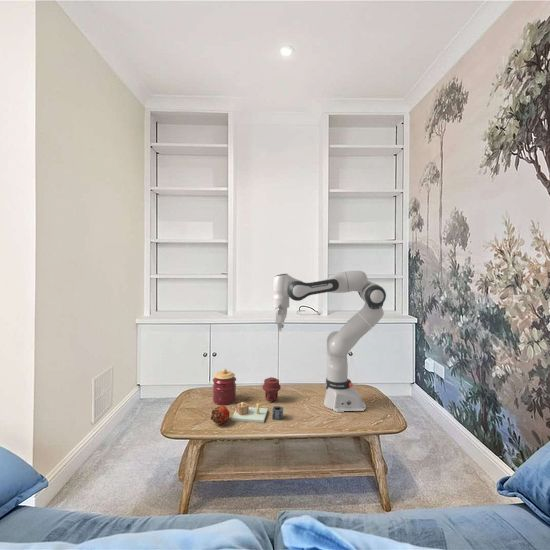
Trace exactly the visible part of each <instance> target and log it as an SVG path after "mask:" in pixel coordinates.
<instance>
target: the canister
mask: <svg viewBox="0 0 550 550" xmlns="http://www.w3.org/2000/svg"><path fill="white" fill-rule="evenodd" d="M236 381H237V378H236V377H235V373H234V372H232V371H230V370H227V369H226V368H223V369H222V370H220V371H217V372H216V373H215V374H214V377H213V379H212V383H213V384H212V402H213V403H214V404H216V405H219V406H221V405H223V406H225V405H226V406H227V405H230V404H232V403H234V402H235V401H236V399H237V392H236V390H237V383H236Z"/></svg>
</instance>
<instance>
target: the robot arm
mask: <svg viewBox="0 0 550 550" xmlns="http://www.w3.org/2000/svg"><path fill="white" fill-rule="evenodd" d="M272 284H273V285H272V291H273V297H272V307H273V308H274V310H275V315H274V316H275V317H274V318H275V319H274V322H275V324H276V325H277V332H282V330H283V329H284V325H285V320H286V318H287V315H288V308H290V299H291V300H293V301H296V302H298V301H304V299H306V298H307V297H309V296H313V295H319V294H325V293H332V294H333V293H336V294H339V293H341V294H343V293H350V292H357V293H358V295H359V297H360V298H361V299H362V300H363V301H364V305H363V306H362V308H361V309H360V310H358V312H356V313H355V314H354V315H352V317H350V318H349V319H348V320H347V321H346V322H345V324H344V325H343V326H342V327H341V328H340V330H334V331H331V332H329V334H328V336H327V339H326V378H325V395H324V400H323V403H322V404H323V406H325V408H328V409H329V410H332V409H333V410H332V411H334V412H335V411H336V412H335V413H345V412H344V411H364V410H365V409H366V410H367V406H366V403H365V401H364V400H363V399H362V396H361V394H360V392H359V390H356V389H355V387H354V384H353V382H352V381H351V379H350V378H348V375H349V373H348V370H349V369H348V368H349V365H348V362H349V361H348V354H349V352H351V350H352V349H353V348H354V347H355V346H356V344H357V343H358V342H359V341H360V340H361V339H362V338H363V337H364V336H365V335H366V334H367V333H368V332H369V331H371V330H372V329H373V328H374V327H375V326H376V325H377V324H378V323H379V322H380V321H381V319H382V318H383V316H384V314H385V311H384V309H383V308H382V307H383V305H384V304H385V301H386V298H387V292H386V290H385V289H384V288H383V287H382V286H381V285H379V284H377V283H376V282H371V281H369V280H368V276H367V274H366V272H364V271H362V270H347V271H341V272H336V273H334V274H332V275H330V276H329V277H328V278H325V279H322V280H318V281H311V282H304V281H302V280H301V279H297V278H294V277H292V276H291V275H289V274H288V273H281V274H278V275H275V276H274V277H273V283H272ZM366 410H365V411H366ZM365 411H364V412H365Z"/></svg>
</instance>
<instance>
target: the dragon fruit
mask: <svg viewBox="0 0 550 550" xmlns="http://www.w3.org/2000/svg"><path fill="white" fill-rule="evenodd" d="M229 417H230V411H229V409H228V408H227V406H225V405H219V406H216V407H215V408H214V410H212V411H211V416H210V420H212V421H213V423H215V424H218V425H221V424H223V423H227V422H228V419H229Z"/></svg>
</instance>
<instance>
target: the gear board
mask: <svg viewBox="0 0 550 550" xmlns="http://www.w3.org/2000/svg"><path fill="white" fill-rule="evenodd" d="M260 405H261V404H260V403H259V402H257V403H256V406H255V407H253V406H249V404H248V403H247V402H245V401H242V402H238V403H236V406H235V407H236V408H235V411H234V413H233V414H232V416H231V419H230V421H232V422H233V421H235V422H248V423H262V424H265V421H266V417H267V414H268V411H269V408H264V407H260Z"/></svg>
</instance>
